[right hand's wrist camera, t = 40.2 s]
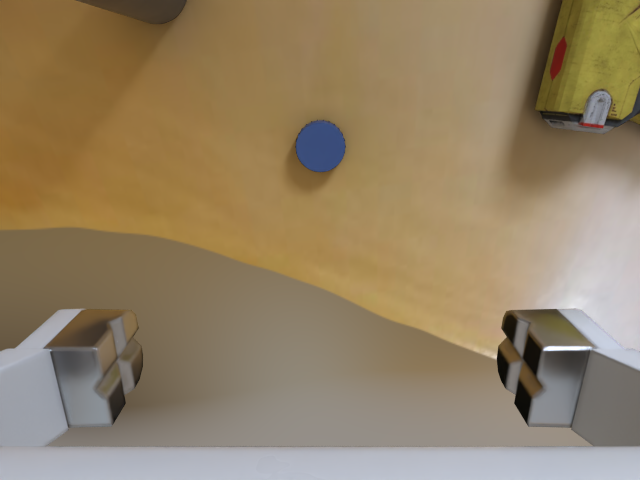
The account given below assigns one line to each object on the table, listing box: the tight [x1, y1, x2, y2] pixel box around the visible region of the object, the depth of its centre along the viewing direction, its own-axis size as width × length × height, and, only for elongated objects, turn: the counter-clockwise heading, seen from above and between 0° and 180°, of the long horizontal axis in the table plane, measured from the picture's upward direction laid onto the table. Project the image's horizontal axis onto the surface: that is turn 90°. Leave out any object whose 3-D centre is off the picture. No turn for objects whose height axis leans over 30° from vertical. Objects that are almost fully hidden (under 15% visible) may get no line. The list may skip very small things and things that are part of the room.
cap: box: [295, 120, 346, 172], centre depth 37 cm, size 4×4×2 cm
